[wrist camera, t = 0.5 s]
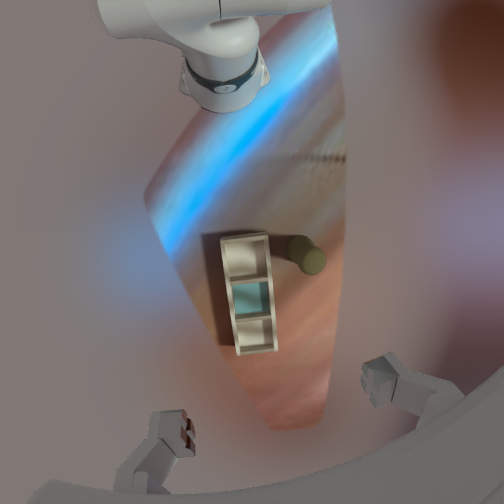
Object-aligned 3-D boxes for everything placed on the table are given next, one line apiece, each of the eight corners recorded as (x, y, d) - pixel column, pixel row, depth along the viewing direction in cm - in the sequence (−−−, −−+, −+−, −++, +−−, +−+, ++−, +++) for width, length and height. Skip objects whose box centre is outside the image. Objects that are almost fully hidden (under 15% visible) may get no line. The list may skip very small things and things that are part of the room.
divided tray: (221, 237, 56) (219, 240, 52) (265, 231, 56) (268, 235, 53) (236, 346, 62) (237, 355, 58) (275, 341, 62) (278, 350, 59)
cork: (288, 265, 58) (299, 282, 48) (284, 237, 57) (295, 249, 46) (315, 260, 58) (331, 276, 48) (312, 233, 57) (329, 243, 46)
